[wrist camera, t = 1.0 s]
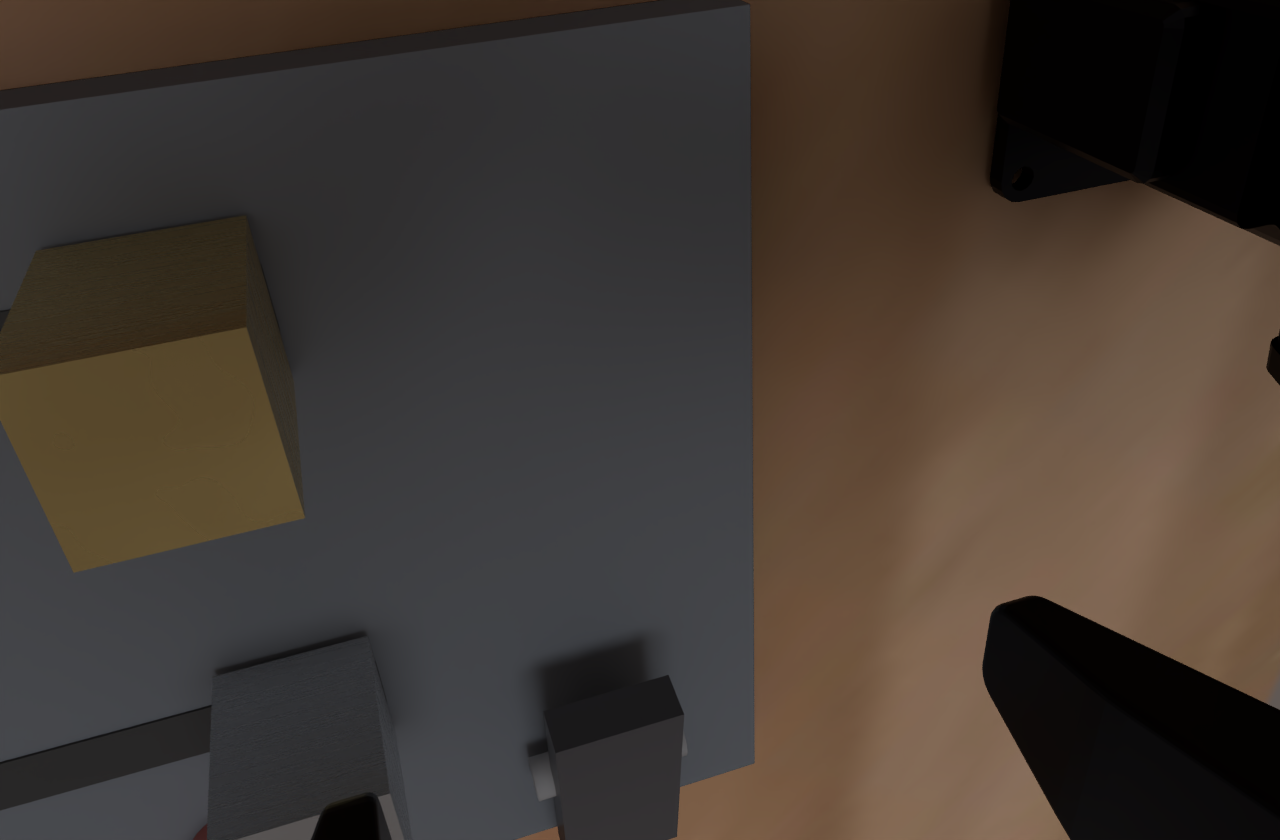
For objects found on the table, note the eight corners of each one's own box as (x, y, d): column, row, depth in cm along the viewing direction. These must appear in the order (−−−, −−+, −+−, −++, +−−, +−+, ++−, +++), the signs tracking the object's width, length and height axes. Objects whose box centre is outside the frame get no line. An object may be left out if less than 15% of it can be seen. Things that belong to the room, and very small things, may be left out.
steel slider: (367, 635, 21) (390, 794, 18) (396, 735, 23) (421, 896, 19) (212, 677, 20) (206, 848, 17) (253, 776, 22) (255, 950, 19)
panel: (722, -9, 18) (788, 22, 16) (736, 729, 28) (777, 809, 26) (-715, 187, 13) (-899, 269, 11) (-71, 979, 24) (-102, 1100, 22)
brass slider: (245, 215, 16) (246, 327, 13) (294, 381, 18) (305, 517, 14) (35, 251, 15) (-21, 378, 12) (106, 420, 17) (73, 572, 14)
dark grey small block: (676, 647, 23) (701, 708, 22) (670, 775, 27) (691, 831, 26) (517, 692, 22) (536, 758, 21) (537, 816, 26) (553, 877, 25)
